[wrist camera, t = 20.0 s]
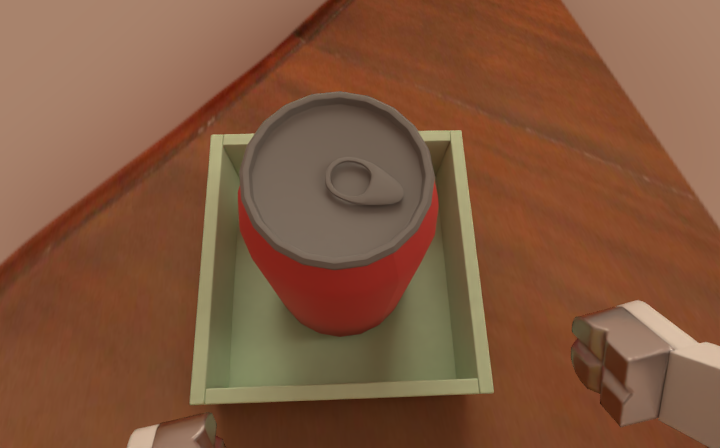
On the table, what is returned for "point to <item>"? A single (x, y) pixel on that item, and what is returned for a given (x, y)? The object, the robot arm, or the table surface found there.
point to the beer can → (338, 208)
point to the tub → (326, 352)
